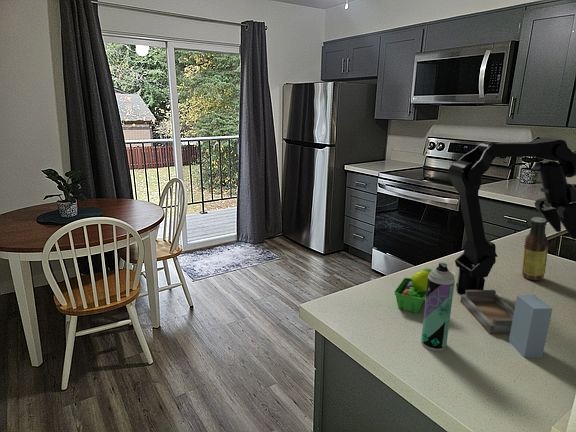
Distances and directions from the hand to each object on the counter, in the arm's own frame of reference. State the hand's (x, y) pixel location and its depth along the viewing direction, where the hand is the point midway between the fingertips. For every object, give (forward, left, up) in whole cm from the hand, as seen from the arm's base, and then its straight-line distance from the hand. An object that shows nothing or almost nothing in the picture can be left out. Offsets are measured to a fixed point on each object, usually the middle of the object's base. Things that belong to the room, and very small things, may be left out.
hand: (566, 235), depth 110 cm
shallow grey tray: (-19, -22, -18) cm, 34 cm away
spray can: (-34, -40, -18) cm, 56 cm away
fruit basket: (-39, -22, -18) cm, 49 cm away
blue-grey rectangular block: (-15, -35, -18) cm, 42 cm away
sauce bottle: (-4, +9, -17) cm, 20 cm away
